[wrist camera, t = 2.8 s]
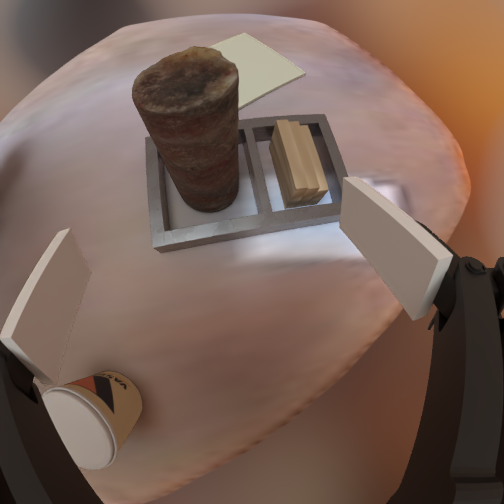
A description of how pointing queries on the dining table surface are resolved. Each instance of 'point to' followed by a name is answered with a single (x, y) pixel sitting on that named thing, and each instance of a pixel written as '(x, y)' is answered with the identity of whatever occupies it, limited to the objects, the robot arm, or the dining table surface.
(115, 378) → the coffee cup
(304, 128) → the offcut stack
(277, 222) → the offcut rack
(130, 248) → the dining table surface
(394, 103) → the dining table surface
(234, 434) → the dining table surface
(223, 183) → the dark brown tall cylinder
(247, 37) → the mat
